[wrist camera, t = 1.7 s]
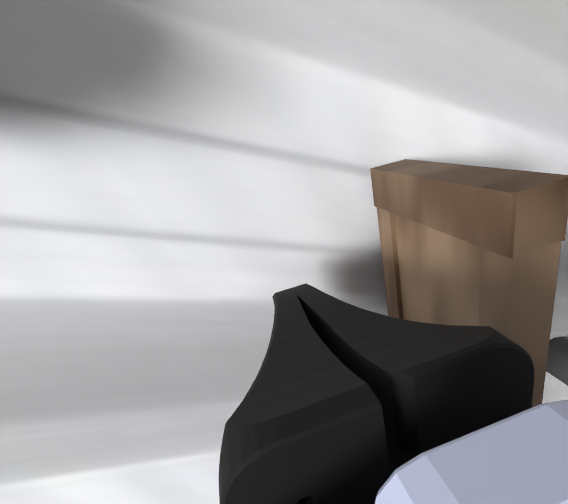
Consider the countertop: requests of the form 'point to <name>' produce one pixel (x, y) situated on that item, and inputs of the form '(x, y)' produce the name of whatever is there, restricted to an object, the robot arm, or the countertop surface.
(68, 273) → the countertop surface
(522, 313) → the gate
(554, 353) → the block
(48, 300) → the countertop surface
